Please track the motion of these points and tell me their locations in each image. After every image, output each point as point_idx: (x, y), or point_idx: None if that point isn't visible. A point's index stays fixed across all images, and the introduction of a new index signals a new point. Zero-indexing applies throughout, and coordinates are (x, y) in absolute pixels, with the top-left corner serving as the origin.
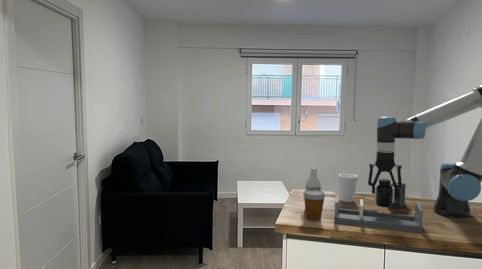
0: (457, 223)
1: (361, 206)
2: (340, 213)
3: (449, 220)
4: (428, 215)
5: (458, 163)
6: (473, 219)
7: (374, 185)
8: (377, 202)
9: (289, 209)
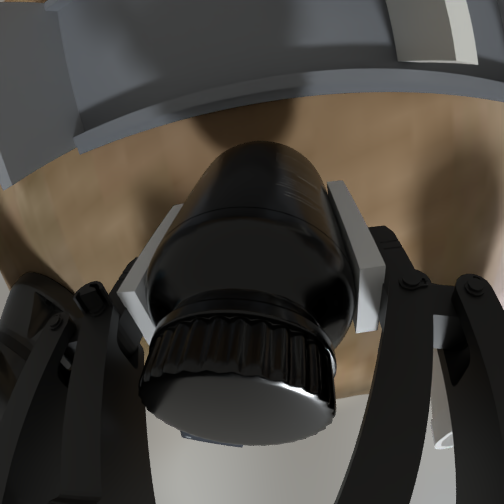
0: (4, 216)
1: None
2: (502, 63)
3: (24, 235)
4: (82, 260)
5: None
6: (6, 275)
7: (400, 287)
8: (314, 170)
9: None
